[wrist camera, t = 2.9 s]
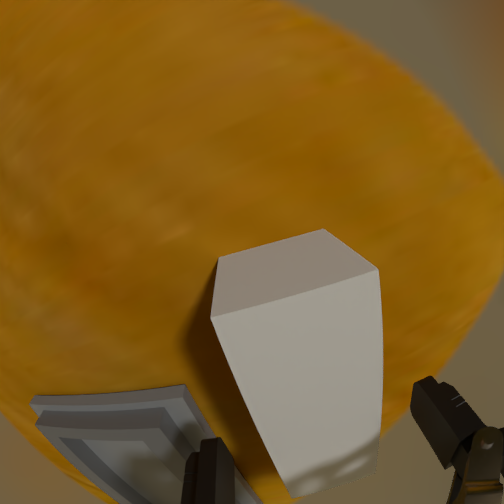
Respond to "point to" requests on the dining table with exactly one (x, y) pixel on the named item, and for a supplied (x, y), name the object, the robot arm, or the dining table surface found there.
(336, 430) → the off-white tapered block
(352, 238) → the dining table surface
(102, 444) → the cradle
